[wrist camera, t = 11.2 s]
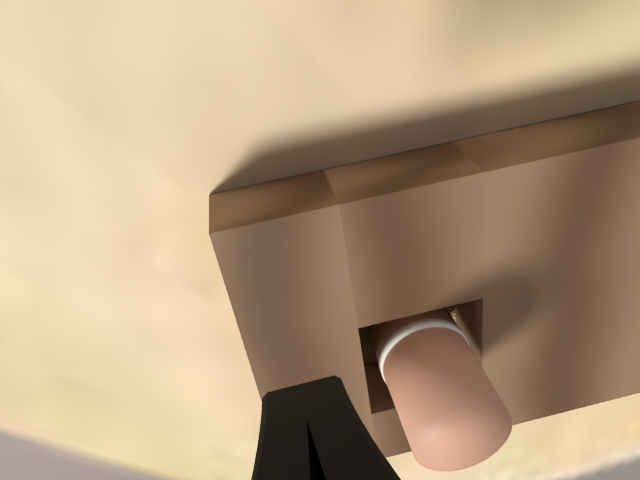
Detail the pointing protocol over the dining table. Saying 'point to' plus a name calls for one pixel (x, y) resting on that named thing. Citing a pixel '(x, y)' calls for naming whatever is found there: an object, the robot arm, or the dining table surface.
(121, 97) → the dining table surface
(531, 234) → the board
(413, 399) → the peg
